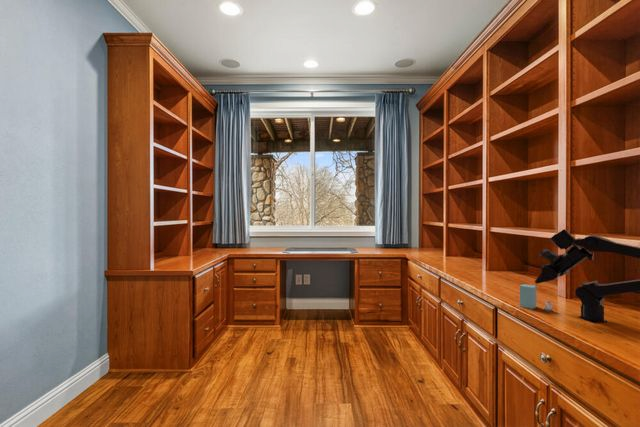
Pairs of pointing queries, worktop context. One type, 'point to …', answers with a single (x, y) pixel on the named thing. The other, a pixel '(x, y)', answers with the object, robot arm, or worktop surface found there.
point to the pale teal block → (528, 296)
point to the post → (548, 306)
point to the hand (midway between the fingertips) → (539, 281)
